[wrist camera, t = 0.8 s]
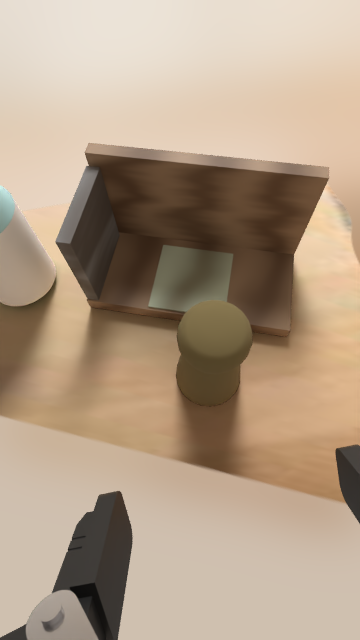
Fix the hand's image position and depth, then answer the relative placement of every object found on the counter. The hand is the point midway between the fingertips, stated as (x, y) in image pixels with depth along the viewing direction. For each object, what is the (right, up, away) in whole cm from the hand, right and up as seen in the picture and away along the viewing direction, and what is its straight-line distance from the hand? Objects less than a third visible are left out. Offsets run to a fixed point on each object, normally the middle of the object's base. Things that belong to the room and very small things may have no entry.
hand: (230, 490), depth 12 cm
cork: (+1, +1, +20) cm, 20 cm away
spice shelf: (0, +11, +24) cm, 26 cm away
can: (-19, +10, +25) cm, 33 cm away
